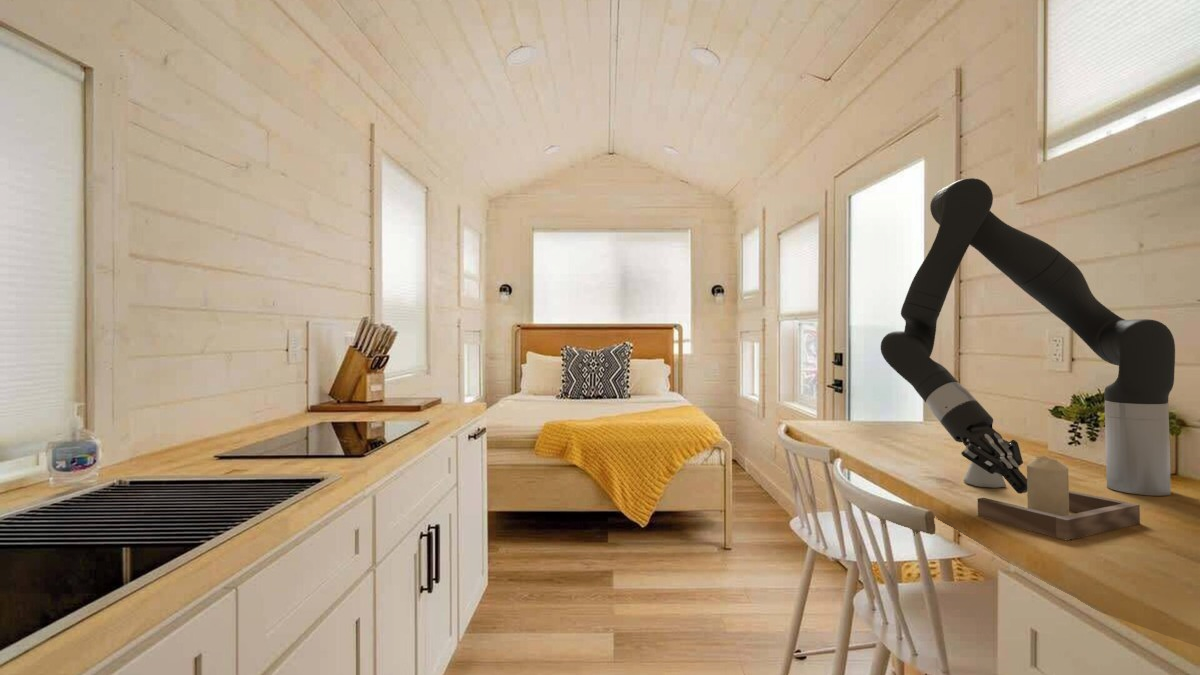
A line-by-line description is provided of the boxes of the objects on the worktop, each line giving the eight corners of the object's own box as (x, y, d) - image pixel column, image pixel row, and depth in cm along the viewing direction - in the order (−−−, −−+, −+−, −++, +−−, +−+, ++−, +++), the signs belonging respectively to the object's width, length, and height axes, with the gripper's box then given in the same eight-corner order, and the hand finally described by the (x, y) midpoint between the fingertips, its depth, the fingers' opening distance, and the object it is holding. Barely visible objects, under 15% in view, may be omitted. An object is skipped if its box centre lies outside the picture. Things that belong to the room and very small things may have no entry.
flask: (956, 480, 125) (955, 433, 125) (991, 480, 124) (990, 433, 124) (977, 489, 117) (976, 439, 117) (1014, 488, 117) (1013, 438, 117)
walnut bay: (1048, 502, 106) (1047, 486, 107) (1139, 523, 94) (1139, 504, 94) (977, 516, 99) (977, 498, 99) (1067, 540, 87) (1067, 520, 87)
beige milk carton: (1078, 522, 95) (1076, 460, 95) (1042, 522, 95) (1040, 460, 95) (1053, 513, 100) (1052, 454, 100) (1020, 512, 101) (1019, 454, 101)
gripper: (946, 400, 107) (1017, 482, 96) (995, 397, 112) (1067, 474, 101) (921, 425, 112) (985, 506, 101) (968, 421, 117) (1034, 498, 106)
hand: (1026, 490), depth 101 cm, fingers closed
